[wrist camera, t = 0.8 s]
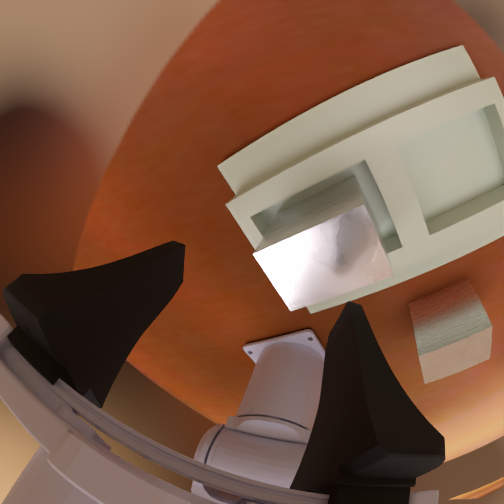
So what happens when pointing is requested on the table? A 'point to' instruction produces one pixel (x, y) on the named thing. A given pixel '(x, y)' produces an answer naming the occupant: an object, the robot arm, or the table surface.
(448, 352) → the block
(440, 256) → the cream stepped base
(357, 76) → the table surface
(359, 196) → the block
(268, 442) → the robot arm
